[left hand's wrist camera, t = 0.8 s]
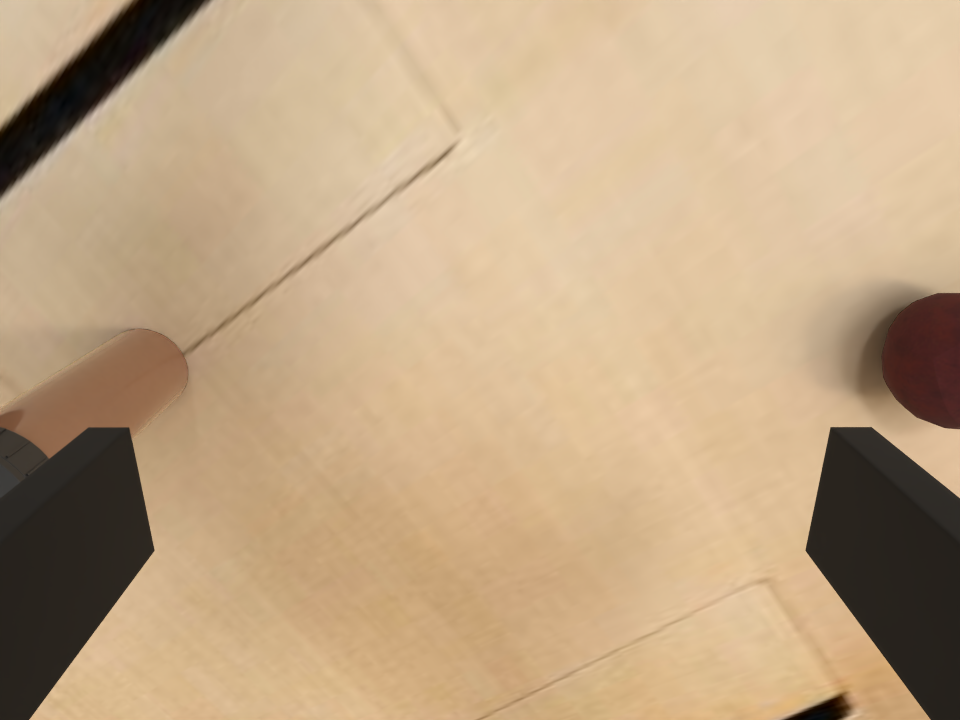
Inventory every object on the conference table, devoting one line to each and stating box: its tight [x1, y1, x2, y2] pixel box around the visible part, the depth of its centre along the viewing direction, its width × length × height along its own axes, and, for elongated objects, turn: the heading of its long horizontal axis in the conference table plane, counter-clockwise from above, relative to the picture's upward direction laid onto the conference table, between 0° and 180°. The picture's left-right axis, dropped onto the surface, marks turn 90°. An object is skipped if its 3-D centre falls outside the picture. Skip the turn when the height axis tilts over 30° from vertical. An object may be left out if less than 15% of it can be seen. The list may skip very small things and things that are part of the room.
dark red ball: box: [882, 293, 960, 429], centre depth 38 cm, size 7×8×7 cm
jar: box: [0, 329, 188, 459], centre depth 35 cm, size 5×5×16 cm
